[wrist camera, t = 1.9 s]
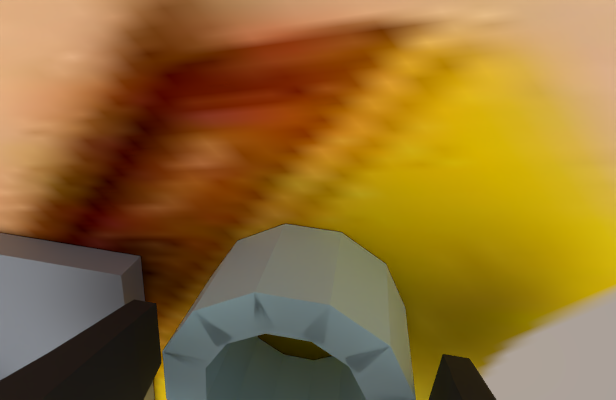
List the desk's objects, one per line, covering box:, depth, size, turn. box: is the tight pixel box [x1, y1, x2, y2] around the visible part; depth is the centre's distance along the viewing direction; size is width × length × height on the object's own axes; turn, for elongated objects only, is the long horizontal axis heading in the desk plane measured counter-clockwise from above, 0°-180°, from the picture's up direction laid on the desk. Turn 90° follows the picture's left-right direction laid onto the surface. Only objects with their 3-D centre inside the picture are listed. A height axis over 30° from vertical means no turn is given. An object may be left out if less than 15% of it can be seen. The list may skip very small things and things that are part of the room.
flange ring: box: [163, 224, 416, 400], centre depth 10 cm, size 6×6×3 cm
